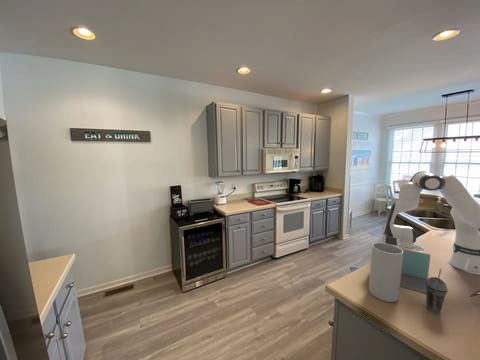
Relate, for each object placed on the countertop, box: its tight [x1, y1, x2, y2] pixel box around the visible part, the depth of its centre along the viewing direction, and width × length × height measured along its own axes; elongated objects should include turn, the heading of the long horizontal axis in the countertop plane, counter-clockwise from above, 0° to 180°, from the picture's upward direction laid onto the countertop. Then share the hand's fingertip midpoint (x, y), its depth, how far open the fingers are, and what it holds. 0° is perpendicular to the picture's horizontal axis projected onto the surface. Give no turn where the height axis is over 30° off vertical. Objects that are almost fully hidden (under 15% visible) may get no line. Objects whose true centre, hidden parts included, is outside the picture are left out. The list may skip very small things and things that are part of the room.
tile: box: [398, 247, 431, 279], centre depth 118 cm, size 15×2×15 cm, turn 57°
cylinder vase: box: [368, 242, 403, 303], centre depth 100 cm, size 12×12×25 cm
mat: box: [400, 273, 427, 295], centre depth 111 cm, size 18×16×1 cm
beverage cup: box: [425, 268, 448, 315], centre depth 90 cm, size 7×7×20 cm
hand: (409, 257), depth 124 cm, fingers closed
